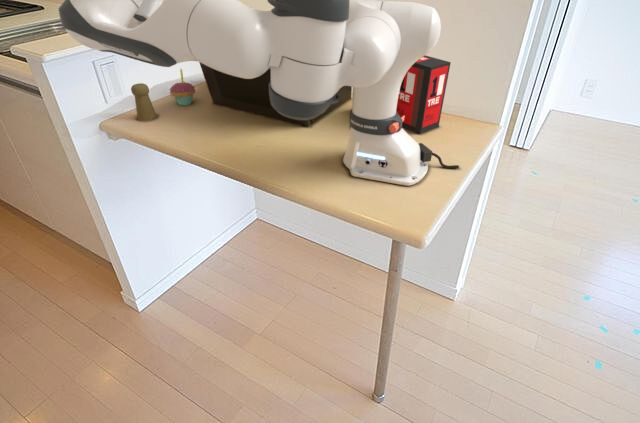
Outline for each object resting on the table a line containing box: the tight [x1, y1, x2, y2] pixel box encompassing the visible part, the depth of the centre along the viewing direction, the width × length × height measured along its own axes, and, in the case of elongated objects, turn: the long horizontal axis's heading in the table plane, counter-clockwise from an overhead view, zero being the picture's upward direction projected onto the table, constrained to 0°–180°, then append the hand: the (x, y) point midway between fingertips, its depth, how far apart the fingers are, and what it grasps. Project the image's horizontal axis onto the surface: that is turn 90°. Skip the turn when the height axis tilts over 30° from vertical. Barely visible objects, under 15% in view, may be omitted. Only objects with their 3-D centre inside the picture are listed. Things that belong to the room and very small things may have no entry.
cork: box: [130, 82, 158, 122], centre depth 130 cm, size 6×6×11 cm
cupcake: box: [169, 69, 196, 106], centre depth 140 cm, size 9×8×12 cm
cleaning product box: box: [396, 54, 452, 135], centre depth 125 cm, size 16×9×20 cm, turn 39°
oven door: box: [198, 62, 312, 128], centre depth 126 cm, size 6×40×24 cm, turn 59°
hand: (171, 40), depth 97 cm, fingers open, 5 cm apart
